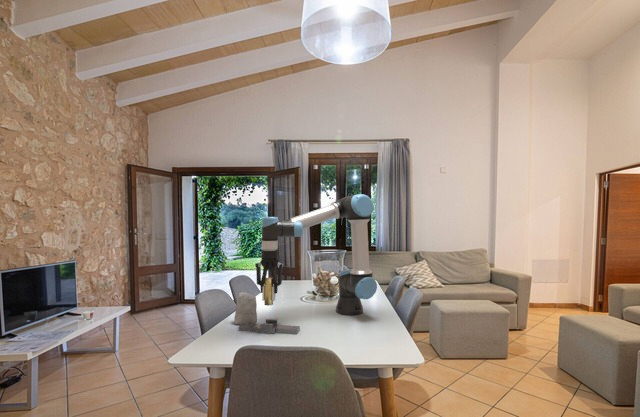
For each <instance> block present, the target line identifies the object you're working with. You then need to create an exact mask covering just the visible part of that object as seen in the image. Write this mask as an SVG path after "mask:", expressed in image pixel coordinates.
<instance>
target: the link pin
mask: <svg viewBox="0 0 640 417" xmlns="http://www.w3.org/2000/svg"><path fill="white" fill-rule="evenodd" d="M273 286H274V284H273V278H272V277H266V278H265V300H264V302H263V303H264V305H265V306H273V305H274V301H272V287H273Z"/></svg>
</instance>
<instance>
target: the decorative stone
mask: <svg viewBox="0 0 640 417" xmlns="http://www.w3.org/2000/svg"><path fill="white" fill-rule="evenodd" d="M257 308H258V307H257V297H256V296H255V295H253V294H251V293H248V292H245V291H244V292H242V291H241V292H239V294H238V295H237V298H236V306H235V311H234V312H235V313H234V321H233V322H234V325H241V324H242V323H255V324H257V320H258V315H257V314H258V313H257Z"/></svg>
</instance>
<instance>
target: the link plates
mask: <svg viewBox="0 0 640 417" xmlns="http://www.w3.org/2000/svg"><path fill="white" fill-rule="evenodd" d="M278 322H279V319H273V318H265V322H263V323H262V322H261V323H242V324H239V325H238V331H243V332H253V333H254V332H255V333H256V332H257V334H268V335H269V334H270V335H271V334H272V335H275V334H286V335H287V334H289V335H298V334H299V332H301V326H300V325H290V324H289V325H287V324H281V323H278Z"/></svg>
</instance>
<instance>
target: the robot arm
mask: <svg viewBox="0 0 640 417" xmlns="http://www.w3.org/2000/svg"><path fill="white" fill-rule="evenodd" d="M373 211H374V202H373V200H372V199H371V197H369V195H366V194H362V193H361V194H360V193H359V194H353V195H348V196H345V197H342V198H340V199H338V200H335V201H333V202H331V203H330V204H329V205H327V206H323V207H320V208H318V209H314V210H312V211H307V212H305V213H302V214H300V215H297V216H293V217H290V218H287V219H285V220H279V218H278V216H263V218H262V219H261V220H262V221H261V259H260V262H256V263H255V269H256V270H255V271H256V272H255V273H256V285H258V286H260V293H261V295H262V298H261V299H262V300H261V301H264V302H265V278H267V274H268V271H270V272H271V278H273V287H272V301H273V302H275V301H276V294H277V293H278V289H279V288H278V287H279V286H281V285H282V283H283V282H282V281H283V268H284V263H281V262H279V259H278V258H279V255H278V254H279V253H278V252H279V251H278V249H279V247H278V246H279V238H283V237H284V238H297V237H299V238H300V237H302V235H303V232H304V229H307V228H310V227H312V226H315V225H319V224H322V223H324V222H327V221H330V220H333V219H337V220H338V219H342V218H347V221H348V222H349V223H350V229H351V230H350V232H351V233H350V234H351V235H350V236H351V255H352V257H351V258H352V269H345V270H340V271H339V272H338V293H339V294H338V298H337V299H338V300H337V304H336V306H335V311H336V313H338V314H340V315H345V316H355V315H361V314H363V313H364V307H363V303H362V300H369V299H371V298H373V297H374V295H375V294H376V293H377V289H378V284H377V281H376V280H375V279H374V276H373V271H372V270H371V269H370V257H369V255H370V254H369V253H370V252H369V235H368V234H369V233H368V232H369V231H368V222H369V221H370V220H371V215H372V213H373ZM261 267H262V269H261ZM276 267H277V268H278V272H277V271H276V270H277V268H276ZM261 270H262V272H261ZM276 272H277V273H276Z"/></svg>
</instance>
